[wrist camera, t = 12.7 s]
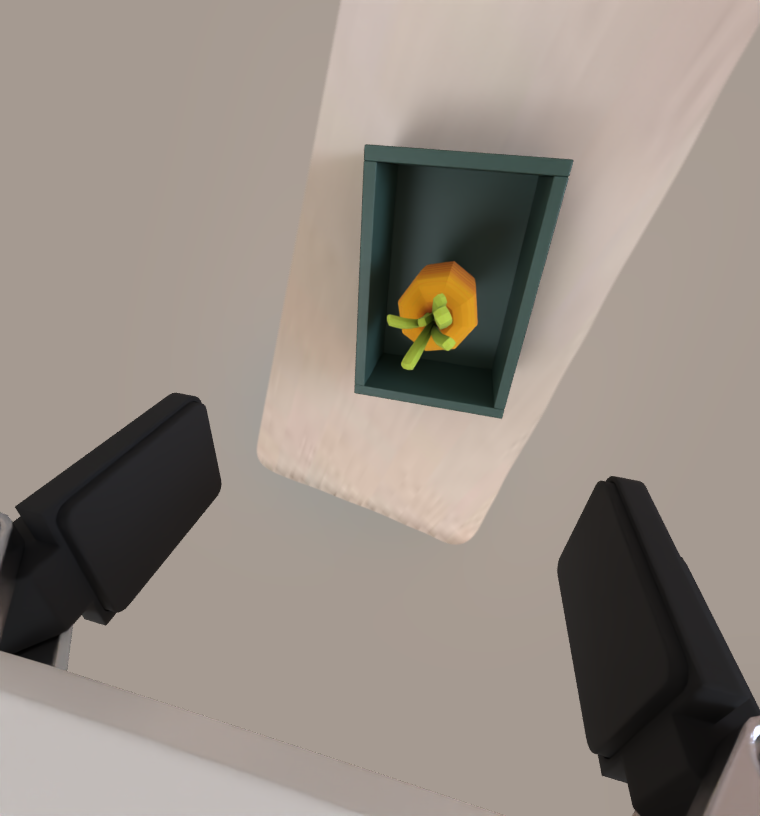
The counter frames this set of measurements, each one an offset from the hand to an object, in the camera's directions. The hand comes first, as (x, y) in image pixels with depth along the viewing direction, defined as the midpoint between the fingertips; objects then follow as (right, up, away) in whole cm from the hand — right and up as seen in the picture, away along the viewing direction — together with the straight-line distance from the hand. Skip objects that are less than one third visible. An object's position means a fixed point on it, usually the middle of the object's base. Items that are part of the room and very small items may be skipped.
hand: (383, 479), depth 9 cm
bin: (+6, +13, +23) cm, 27 cm away
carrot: (+6, +13, +23) cm, 27 cm away
